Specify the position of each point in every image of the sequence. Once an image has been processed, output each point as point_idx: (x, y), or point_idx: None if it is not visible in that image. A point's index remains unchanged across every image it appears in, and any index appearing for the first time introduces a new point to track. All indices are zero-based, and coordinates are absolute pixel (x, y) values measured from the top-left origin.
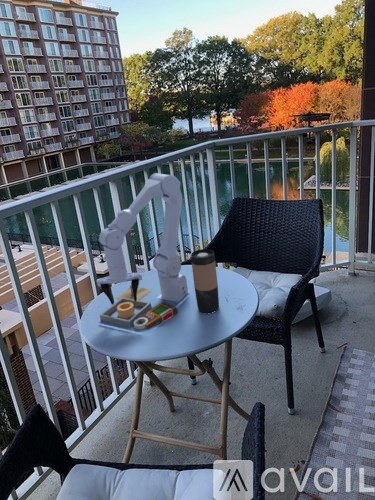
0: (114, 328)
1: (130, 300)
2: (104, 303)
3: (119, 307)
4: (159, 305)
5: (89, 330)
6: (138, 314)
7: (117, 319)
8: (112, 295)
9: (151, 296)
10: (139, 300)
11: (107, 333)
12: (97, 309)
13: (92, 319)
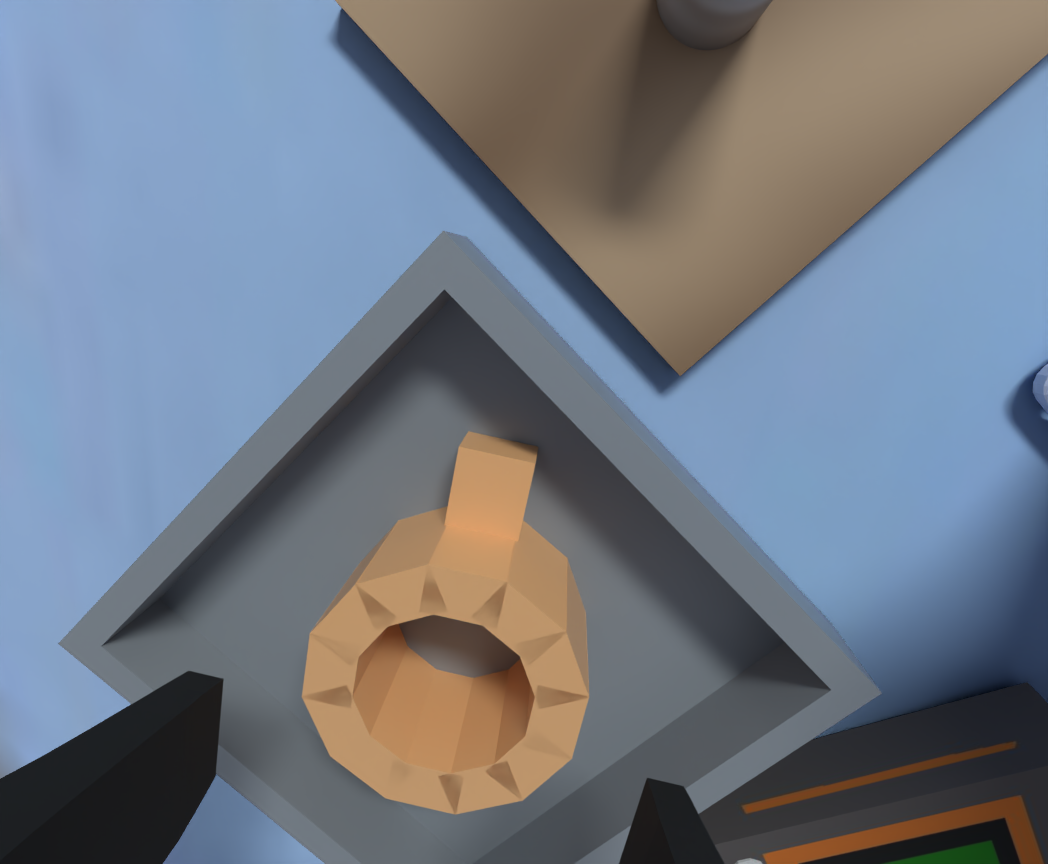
0: None
1: (575, 423)
2: (141, 41)
3: (346, 687)
4: (968, 807)
5: (19, 694)
6: (606, 862)
7: (316, 849)
8: (111, 801)
9: (981, 223)
10: (736, 326)
11: (225, 837)
12: (44, 210)
13: (14, 472)
